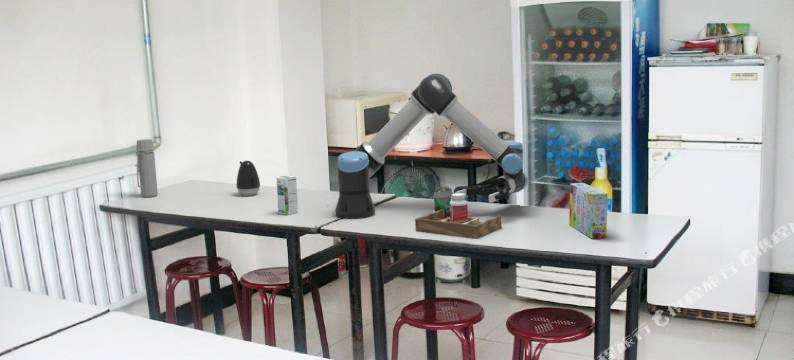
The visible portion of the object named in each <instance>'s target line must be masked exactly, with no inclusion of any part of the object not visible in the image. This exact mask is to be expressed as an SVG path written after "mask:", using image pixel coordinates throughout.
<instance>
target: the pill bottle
mask: <svg viewBox="0 0 794 360" xmlns="http://www.w3.org/2000/svg"><path fill="white" fill-rule="evenodd" d="M465 199H466V197H465V194H464V193H455V192H454V193H453V194H452V196H451V201H450V216H449V217H450V222H455V223H466V222H468V217H469V215H468V211H469V210H468V207H469V206H468V201H467V200H465Z"/></svg>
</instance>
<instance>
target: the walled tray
mask: <svg viewBox="0 0 794 360" xmlns="http://www.w3.org/2000/svg"><path fill="white" fill-rule="evenodd" d="M414 220H415V222H414V223H415V231H416V232H422V233H430V234H438V235H439V234H440V235H445V236H451V237H452V236H454V237H461V238H470V239H479V238H481V237H482V238H483V237H484V236H486V235H488V234H490V233H493V232H495V231H498V230H499V229H502V215H497V216H494V217H491V218H489V219H487V220H484V221H480V218H479V217H472V216H471V217H469V216H468V222H466V223H455V222H450V216H449V217H446V218H445V214H444V210H443V209H441V210H438V211H436V212H435V211H434V212H431V213H427V214H425V215H423V216H420V217H417V218H415V219H414Z"/></svg>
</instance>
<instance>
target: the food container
mask: <svg viewBox="0 0 794 360" xmlns="http://www.w3.org/2000/svg"><path fill="white" fill-rule="evenodd" d="M437 188H438V190H436V191H435V192H433V203H434V205H433V207H434V208H433V209H434V212H436V211H438V210H441V209H443V210H444V214H445V218H449V217H450V201H451V200H452V194H454V193H453V190H452V188H451V187H449V186H437Z"/></svg>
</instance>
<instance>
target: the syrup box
mask: <svg viewBox="0 0 794 360" xmlns="http://www.w3.org/2000/svg"><path fill="white" fill-rule="evenodd" d="M297 184H298V183H297V176H292V175H291V176H290V175H280V176H277V177H276V193H277V194H276V195H277V213H278V214H279V215H285V216H291V215H294V214H295V215H296V214H298V213H299V207H298V189H297V186H298V185H297Z"/></svg>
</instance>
